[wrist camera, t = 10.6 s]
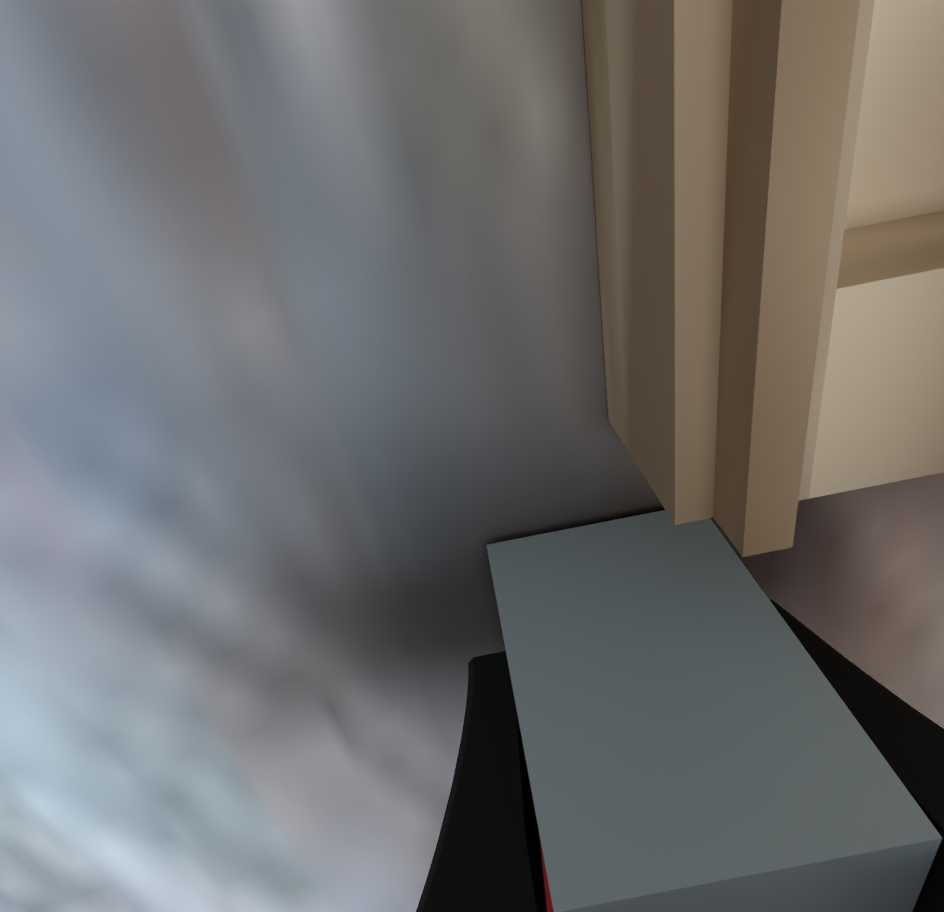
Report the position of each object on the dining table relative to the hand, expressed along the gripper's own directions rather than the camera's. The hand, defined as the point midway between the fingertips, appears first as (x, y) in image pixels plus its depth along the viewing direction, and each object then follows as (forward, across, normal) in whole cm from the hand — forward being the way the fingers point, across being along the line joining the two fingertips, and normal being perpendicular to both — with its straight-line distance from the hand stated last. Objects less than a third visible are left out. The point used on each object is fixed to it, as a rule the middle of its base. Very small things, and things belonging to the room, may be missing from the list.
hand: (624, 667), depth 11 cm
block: (+2, 0, 0) cm, 2 cm away
